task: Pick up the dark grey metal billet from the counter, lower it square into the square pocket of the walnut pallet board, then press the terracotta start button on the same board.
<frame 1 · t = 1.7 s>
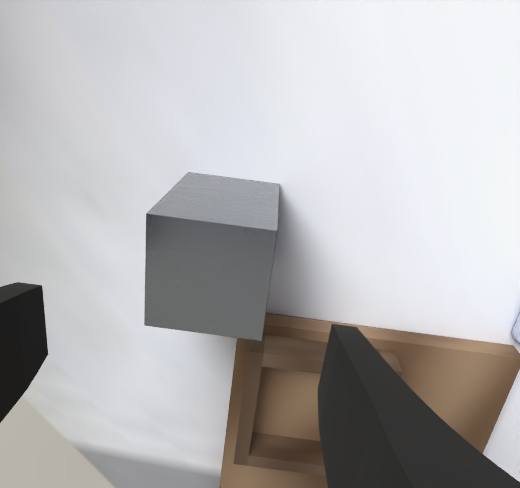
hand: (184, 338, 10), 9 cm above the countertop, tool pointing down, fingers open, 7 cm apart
billet: (229, 221, 19), on the countertop
pallet: (346, 440, 23), on the countertop
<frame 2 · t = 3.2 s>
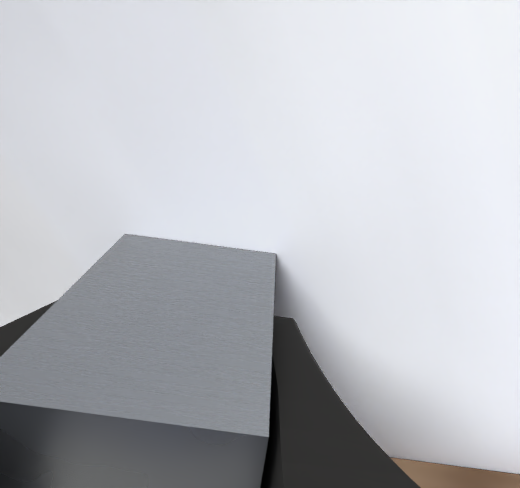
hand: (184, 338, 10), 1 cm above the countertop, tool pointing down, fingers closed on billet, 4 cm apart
billet: (195, 309, 12), on the countertop, touching gripper
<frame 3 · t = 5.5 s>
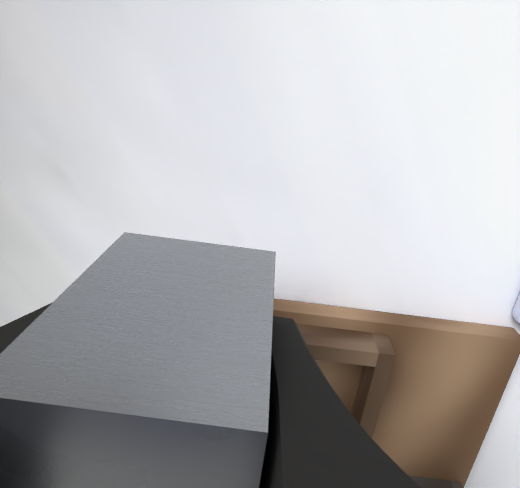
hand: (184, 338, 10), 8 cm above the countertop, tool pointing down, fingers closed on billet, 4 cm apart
billet: (195, 307, 12), point 7 cm above the countertop, touching gripper
pallet: (339, 431, 22), on the countertop
when the fingers open (3 cm above the countertop, at t = 7.7 s): billet stays where it is, resting on pallet.
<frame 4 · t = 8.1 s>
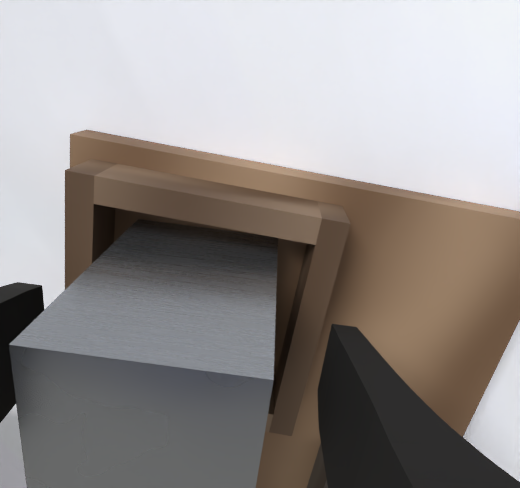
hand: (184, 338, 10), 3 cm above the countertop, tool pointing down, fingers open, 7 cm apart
billet: (203, 290, 13), point 1 cm above the countertop, touching pallet
pallet: (269, 377, 15), on the countertop
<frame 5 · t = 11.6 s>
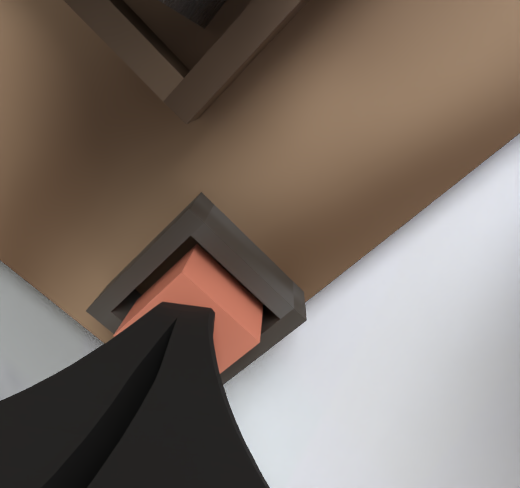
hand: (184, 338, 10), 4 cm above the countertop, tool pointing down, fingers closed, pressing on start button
pallet: (184, 96, 12), on the countertop
start button: (193, 319, 11), point 3 cm above the countertop, slide at 0.4 cm, touching gripper
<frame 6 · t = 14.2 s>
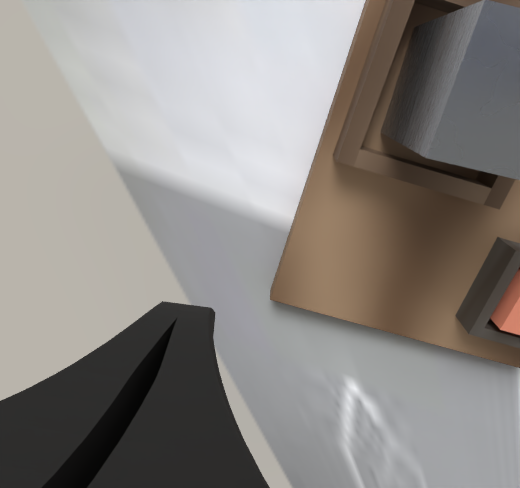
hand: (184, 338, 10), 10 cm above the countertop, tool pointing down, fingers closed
billet: (444, 93, 17), point 1 cm above the countertop, touching pallet
pallet: (457, 190, 19), on the countertop
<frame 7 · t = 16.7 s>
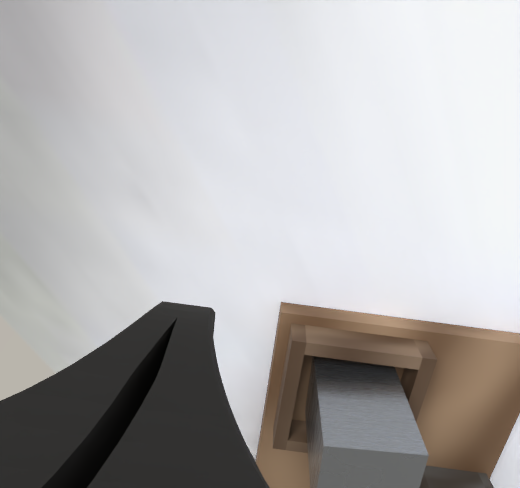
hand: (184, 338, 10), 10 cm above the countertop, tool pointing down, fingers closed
billet: (346, 384, 22), point 1 cm above the countertop, touching pallet
pallet: (377, 427, 24), on the countertop
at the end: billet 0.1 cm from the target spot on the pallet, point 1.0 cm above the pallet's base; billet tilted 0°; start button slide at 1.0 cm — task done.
